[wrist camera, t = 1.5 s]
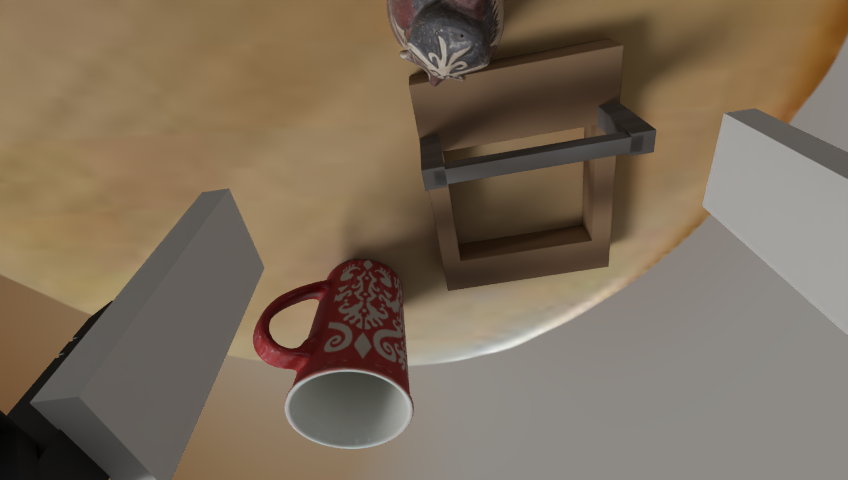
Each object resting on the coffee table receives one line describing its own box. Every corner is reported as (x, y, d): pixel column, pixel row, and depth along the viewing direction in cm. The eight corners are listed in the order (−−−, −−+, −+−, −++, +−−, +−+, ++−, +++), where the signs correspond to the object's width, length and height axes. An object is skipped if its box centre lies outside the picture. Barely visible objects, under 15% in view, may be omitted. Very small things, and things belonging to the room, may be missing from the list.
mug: (432, 283, 42) (440, 405, 30) (375, 336, 45) (364, 463, 34) (318, 210, 37) (277, 323, 26) (265, 276, 41) (209, 400, 30)
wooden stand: (409, 76, 31) (409, 110, 25) (608, 38, 30) (665, 63, 24) (446, 273, 41) (453, 336, 34) (598, 249, 40) (635, 309, 33)
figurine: (369, 29, 30) (349, 69, 20) (420, -86, 26) (427, -108, 16) (460, 81, 32) (483, 142, 22) (517, -19, 28) (577, -2, 18)
